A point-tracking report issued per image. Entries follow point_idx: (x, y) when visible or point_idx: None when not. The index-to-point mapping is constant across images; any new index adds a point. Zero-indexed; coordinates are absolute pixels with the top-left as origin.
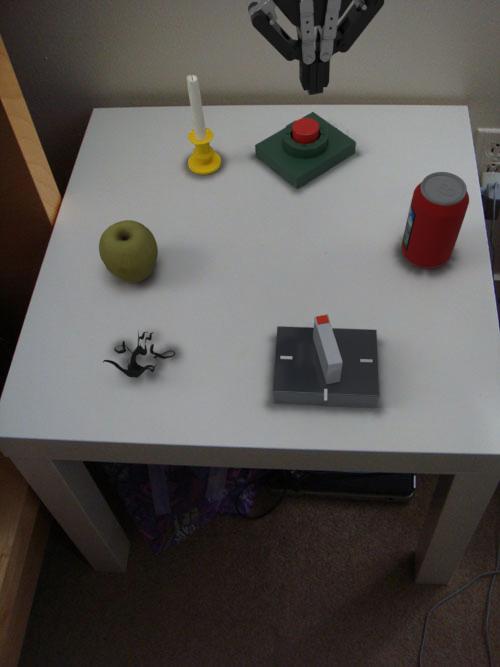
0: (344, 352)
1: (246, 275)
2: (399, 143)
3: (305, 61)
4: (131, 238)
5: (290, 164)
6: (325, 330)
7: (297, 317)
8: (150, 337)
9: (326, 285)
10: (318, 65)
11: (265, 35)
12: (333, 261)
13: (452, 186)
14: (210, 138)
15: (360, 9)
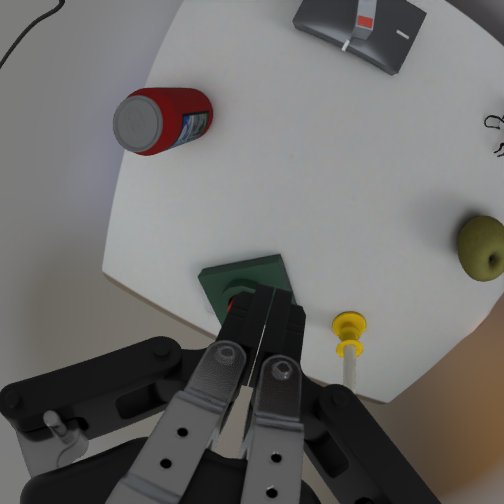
0: (339, 11)
1: (387, 169)
2: (159, 259)
3: (295, 367)
4: (491, 253)
5: (275, 282)
6: (366, 9)
7: (360, 89)
8: (501, 145)
9: (311, 113)
10: (255, 341)
11: (413, 477)
12: (288, 140)
13: (126, 123)
14: (343, 343)
15: (72, 418)
